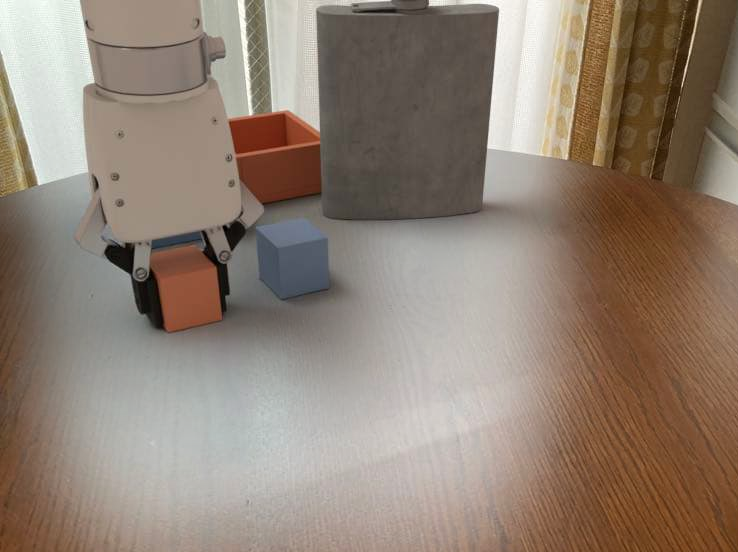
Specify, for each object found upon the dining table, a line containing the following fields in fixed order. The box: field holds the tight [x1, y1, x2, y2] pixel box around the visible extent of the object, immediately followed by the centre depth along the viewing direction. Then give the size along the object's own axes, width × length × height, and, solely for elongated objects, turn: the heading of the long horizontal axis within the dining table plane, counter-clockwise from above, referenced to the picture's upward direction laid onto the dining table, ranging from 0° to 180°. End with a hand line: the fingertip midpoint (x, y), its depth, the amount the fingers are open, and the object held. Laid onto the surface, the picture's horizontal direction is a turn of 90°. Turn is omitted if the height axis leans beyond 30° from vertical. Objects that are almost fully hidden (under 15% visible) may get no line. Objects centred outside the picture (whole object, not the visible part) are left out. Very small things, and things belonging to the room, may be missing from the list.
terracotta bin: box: [228, 109, 322, 205], centre depth 93 cm, size 11×11×5 cm
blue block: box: [255, 217, 330, 300], centre depth 77 cm, size 4×4×4 cm
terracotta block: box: [150, 244, 223, 333], centre depth 72 cm, size 4×4×4 cm
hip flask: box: [315, 0, 500, 221], centre depth 84 cm, size 16×4×20 cm, turn 100°
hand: (185, 309), depth 74 cm, fingers closed on terracotta block, 4 cm apart
